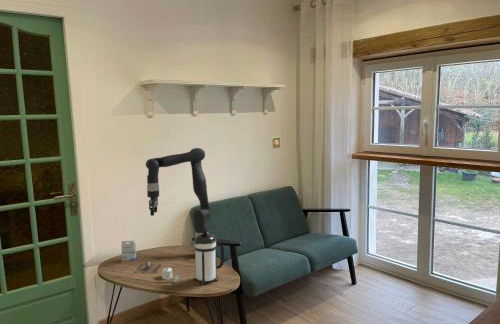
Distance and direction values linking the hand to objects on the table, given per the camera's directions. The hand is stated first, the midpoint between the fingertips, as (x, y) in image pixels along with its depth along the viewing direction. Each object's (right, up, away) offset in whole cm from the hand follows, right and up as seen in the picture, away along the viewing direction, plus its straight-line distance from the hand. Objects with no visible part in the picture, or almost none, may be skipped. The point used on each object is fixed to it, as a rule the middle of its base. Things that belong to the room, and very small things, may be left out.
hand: (153, 213), depth 245 cm
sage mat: (+14, -36, -24) cm, 45 cm away
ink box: (-18, -33, +6) cm, 38 cm away
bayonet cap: (+14, -35, -24) cm, 45 cm away
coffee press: (+38, -36, -24) cm, 57 cm away
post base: (-1, -34, -11) cm, 36 cm away
